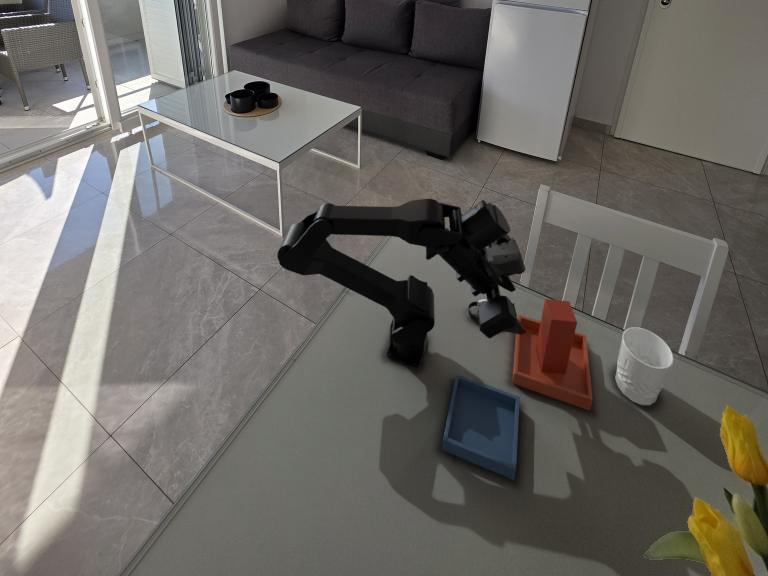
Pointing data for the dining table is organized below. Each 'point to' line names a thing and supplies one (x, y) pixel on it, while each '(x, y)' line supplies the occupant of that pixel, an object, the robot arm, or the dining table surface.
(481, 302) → the watch
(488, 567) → the dining table surface
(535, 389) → the red tray
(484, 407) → the blue tray
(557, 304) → the red pillar
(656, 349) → the white cup
